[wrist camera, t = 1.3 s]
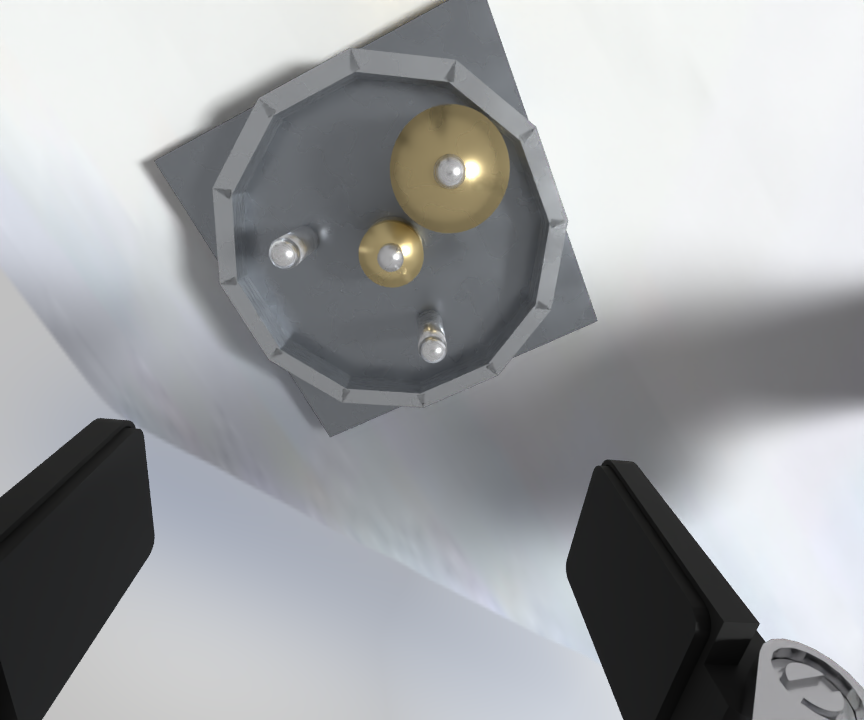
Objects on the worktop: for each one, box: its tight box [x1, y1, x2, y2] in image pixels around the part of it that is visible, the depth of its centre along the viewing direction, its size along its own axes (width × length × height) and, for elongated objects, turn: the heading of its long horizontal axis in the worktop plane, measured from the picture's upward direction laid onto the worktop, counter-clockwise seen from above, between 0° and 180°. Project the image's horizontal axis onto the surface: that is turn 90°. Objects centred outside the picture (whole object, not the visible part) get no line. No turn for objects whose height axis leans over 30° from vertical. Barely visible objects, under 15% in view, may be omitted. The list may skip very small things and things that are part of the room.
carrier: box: [155, 0, 597, 437], centre depth 27 cm, size 20×20×7 cm
